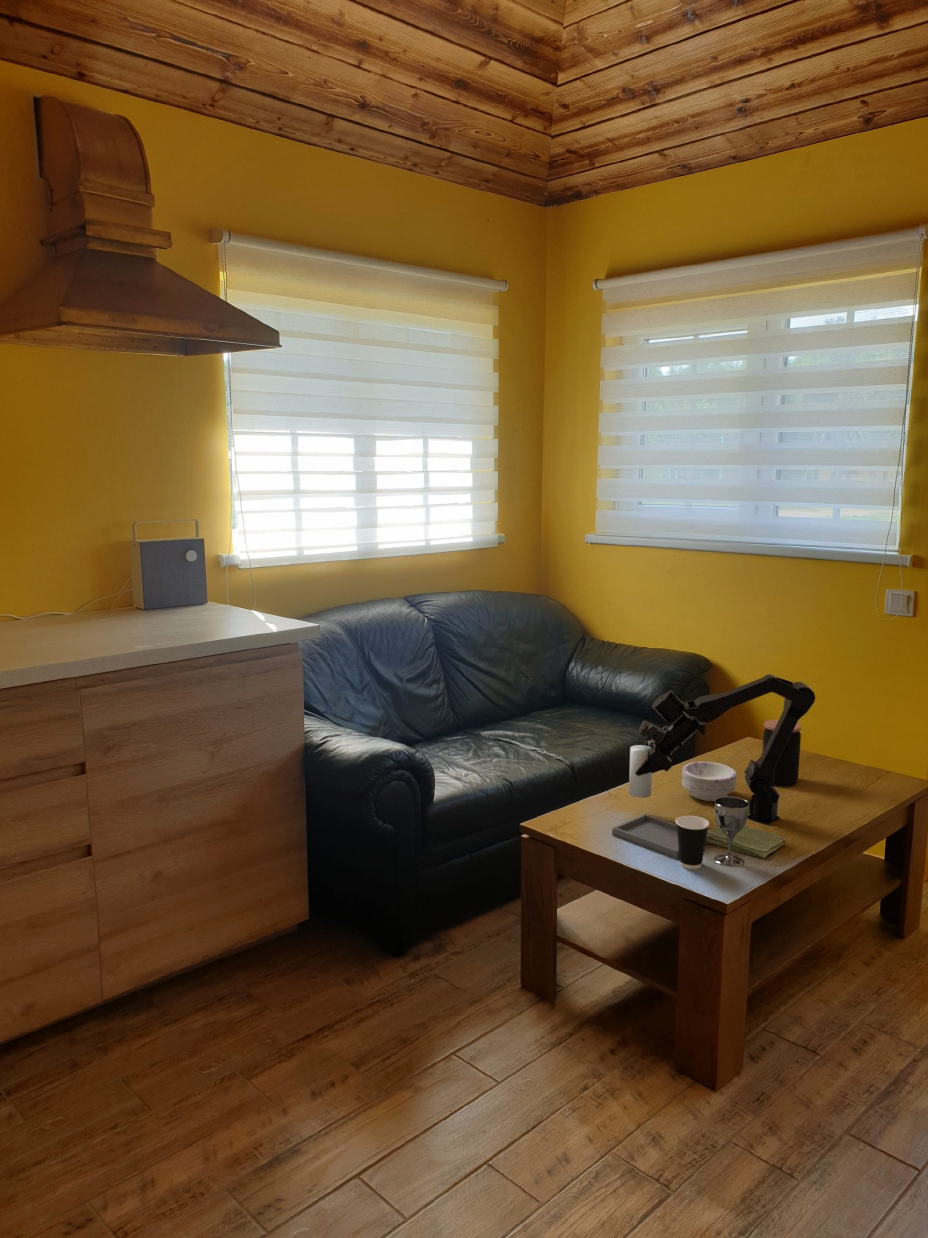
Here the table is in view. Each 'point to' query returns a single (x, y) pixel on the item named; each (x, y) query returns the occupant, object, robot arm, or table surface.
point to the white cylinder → (642, 783)
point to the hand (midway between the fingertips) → (635, 770)
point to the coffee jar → (785, 756)
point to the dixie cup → (691, 840)
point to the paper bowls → (708, 780)
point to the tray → (651, 834)
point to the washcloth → (748, 841)
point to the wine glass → (731, 825)
